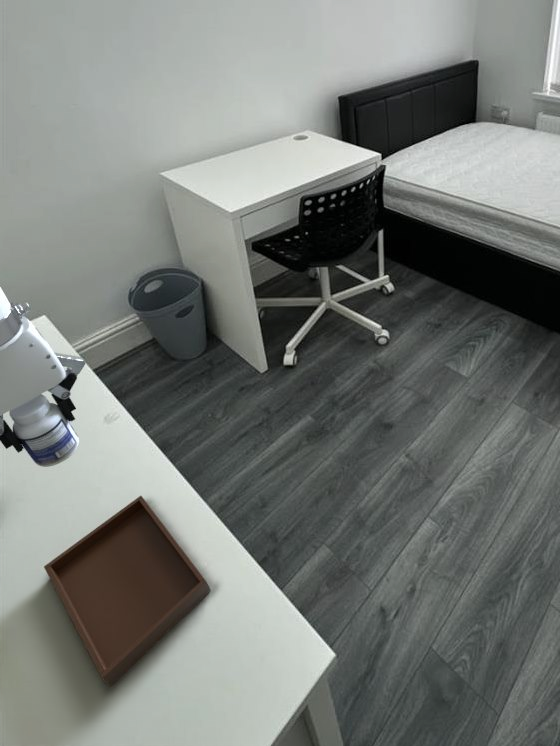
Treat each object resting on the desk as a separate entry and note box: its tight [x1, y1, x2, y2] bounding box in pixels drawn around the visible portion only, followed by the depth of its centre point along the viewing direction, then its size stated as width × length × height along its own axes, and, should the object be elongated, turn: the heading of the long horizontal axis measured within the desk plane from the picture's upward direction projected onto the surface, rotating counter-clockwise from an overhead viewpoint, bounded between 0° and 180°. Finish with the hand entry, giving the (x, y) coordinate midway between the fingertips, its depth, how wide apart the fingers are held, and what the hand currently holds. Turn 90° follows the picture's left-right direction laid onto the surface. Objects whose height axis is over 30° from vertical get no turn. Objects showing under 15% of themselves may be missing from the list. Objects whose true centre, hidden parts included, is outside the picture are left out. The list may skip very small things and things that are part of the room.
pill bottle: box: [8, 393, 80, 468], centre depth 65 cm, size 5×5×10 cm
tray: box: [43, 495, 212, 687], centre depth 66 cm, size 19×13×3 cm
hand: (43, 429), depth 65 cm, fingers closed on pill bottle, 5 cm apart
